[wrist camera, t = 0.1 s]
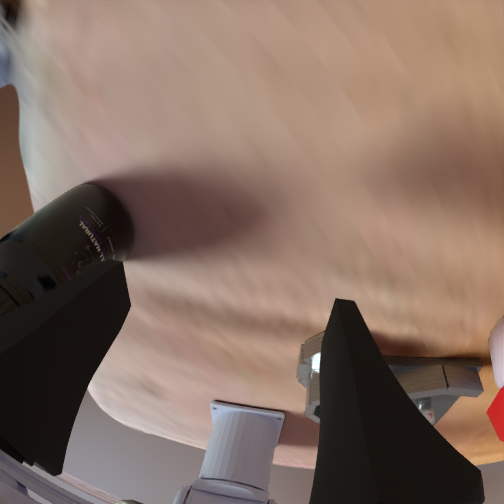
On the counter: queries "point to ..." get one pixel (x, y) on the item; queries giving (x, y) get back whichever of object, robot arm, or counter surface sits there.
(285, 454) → the counter surface
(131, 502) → the square plate
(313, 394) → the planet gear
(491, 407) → the mushroom
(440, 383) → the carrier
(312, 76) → the counter surface
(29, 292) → the supplement bottle
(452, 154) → the counter surface
